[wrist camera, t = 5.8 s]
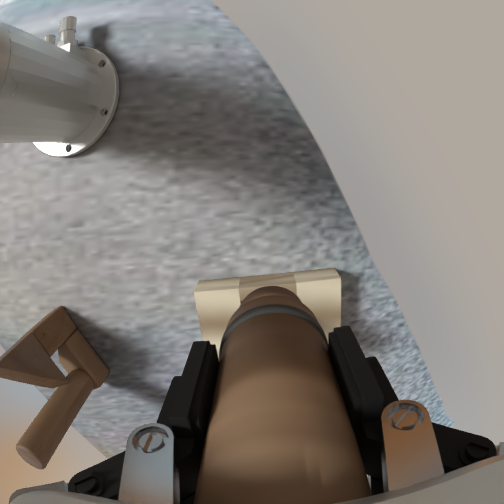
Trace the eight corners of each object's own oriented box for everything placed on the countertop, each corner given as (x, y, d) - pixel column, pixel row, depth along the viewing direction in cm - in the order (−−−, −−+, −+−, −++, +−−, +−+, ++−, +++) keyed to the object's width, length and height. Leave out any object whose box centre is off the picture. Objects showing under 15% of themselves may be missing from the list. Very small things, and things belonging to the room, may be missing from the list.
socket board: (198, 280, 33) (193, 292, 30) (333, 267, 32) (341, 278, 29) (226, 417, 38) (224, 433, 35) (331, 408, 38) (335, 423, 35)
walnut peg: (220, 280, 14) (142, 547, 3) (313, 270, 14) (419, 528, 3) (234, 356, 16) (205, 592, 4) (316, 348, 15) (373, 580, 4)
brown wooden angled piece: (62, 304, 34) (-27, 385, 17) (111, 370, 37) (52, 471, 19) (47, 314, 35) (-37, 392, 17) (94, 377, 37) (35, 471, 20)
